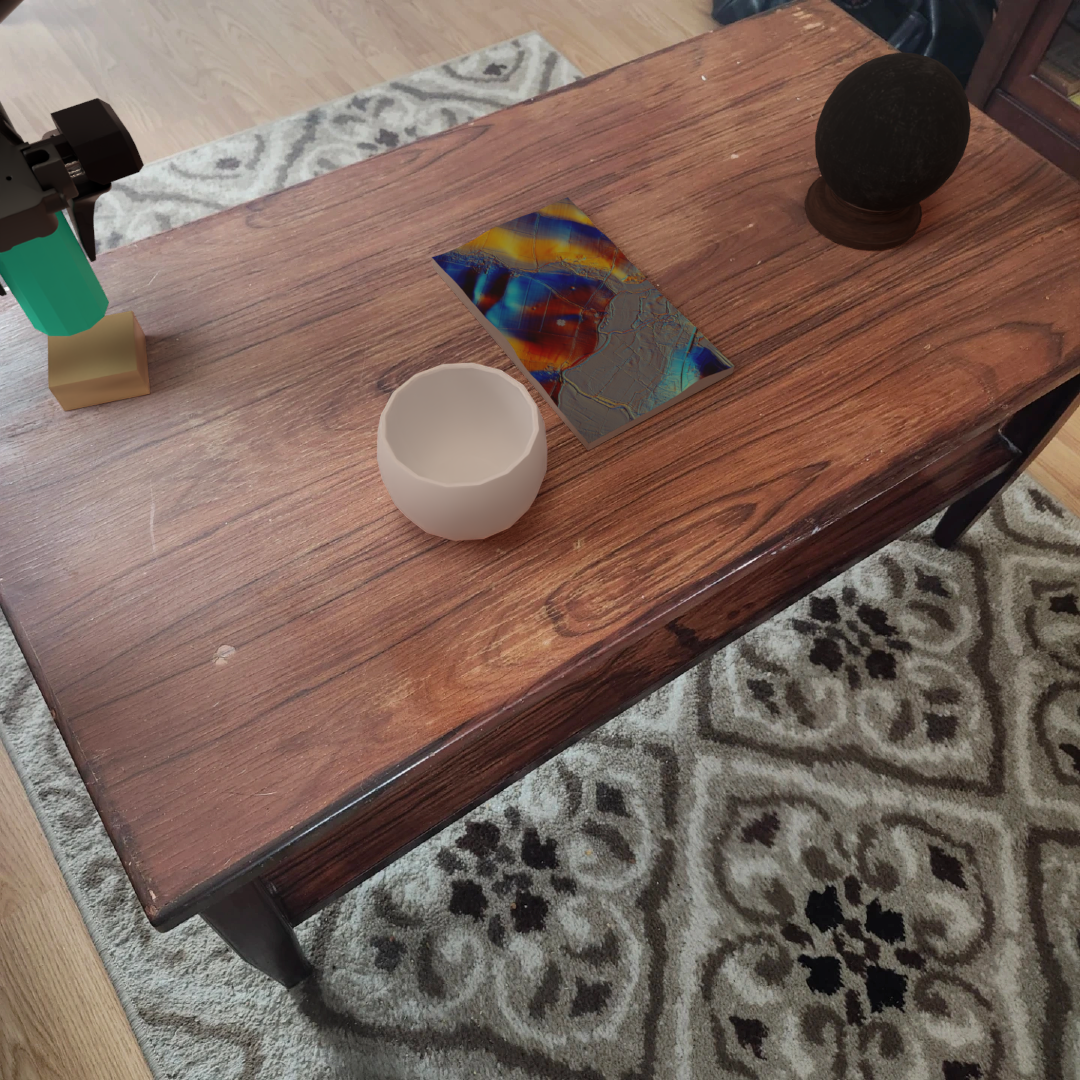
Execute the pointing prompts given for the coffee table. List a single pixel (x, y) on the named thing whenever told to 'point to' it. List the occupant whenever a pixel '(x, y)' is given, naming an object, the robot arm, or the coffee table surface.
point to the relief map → (580, 321)
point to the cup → (462, 450)
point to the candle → (54, 282)
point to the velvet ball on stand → (886, 149)
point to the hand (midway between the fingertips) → (47, 275)
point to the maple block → (99, 363)
